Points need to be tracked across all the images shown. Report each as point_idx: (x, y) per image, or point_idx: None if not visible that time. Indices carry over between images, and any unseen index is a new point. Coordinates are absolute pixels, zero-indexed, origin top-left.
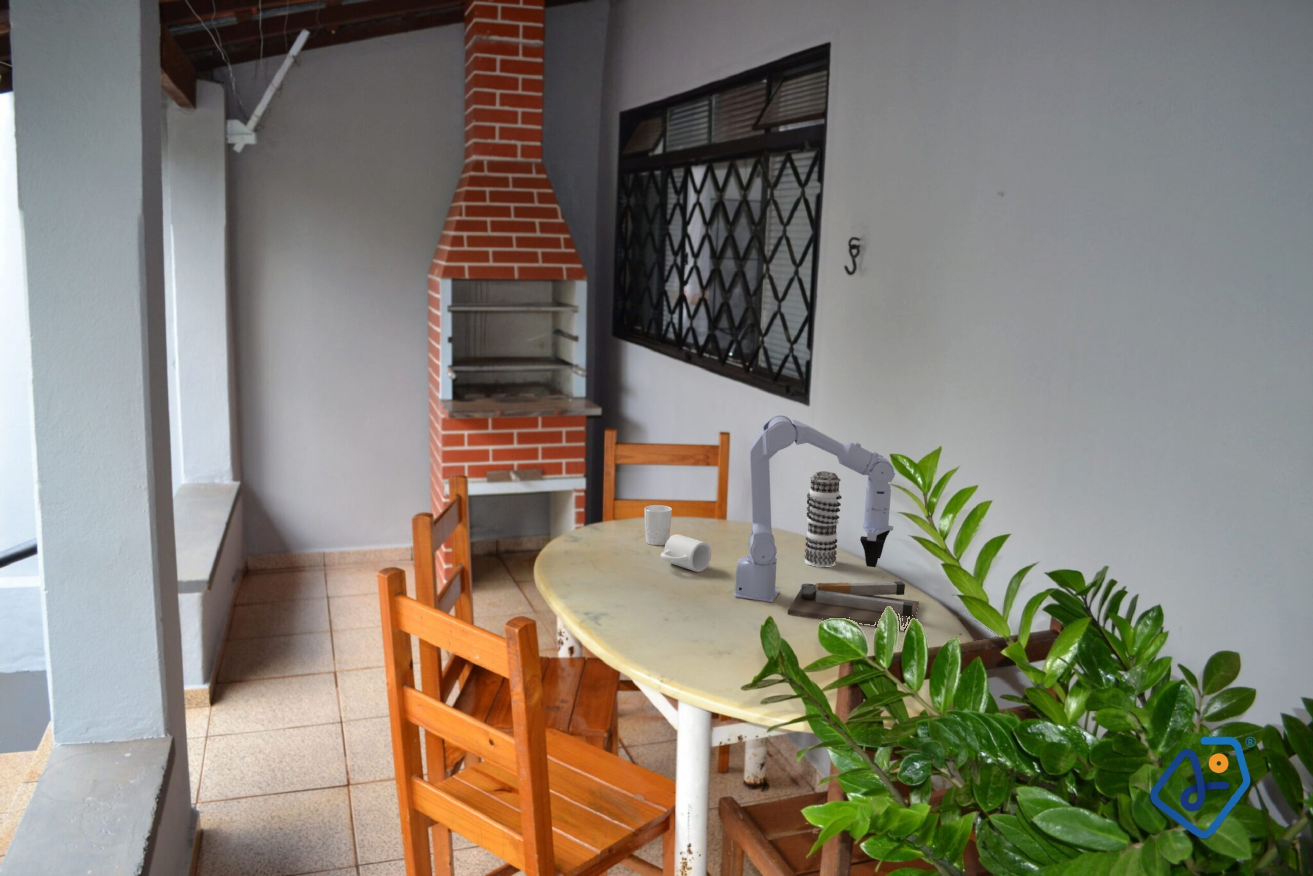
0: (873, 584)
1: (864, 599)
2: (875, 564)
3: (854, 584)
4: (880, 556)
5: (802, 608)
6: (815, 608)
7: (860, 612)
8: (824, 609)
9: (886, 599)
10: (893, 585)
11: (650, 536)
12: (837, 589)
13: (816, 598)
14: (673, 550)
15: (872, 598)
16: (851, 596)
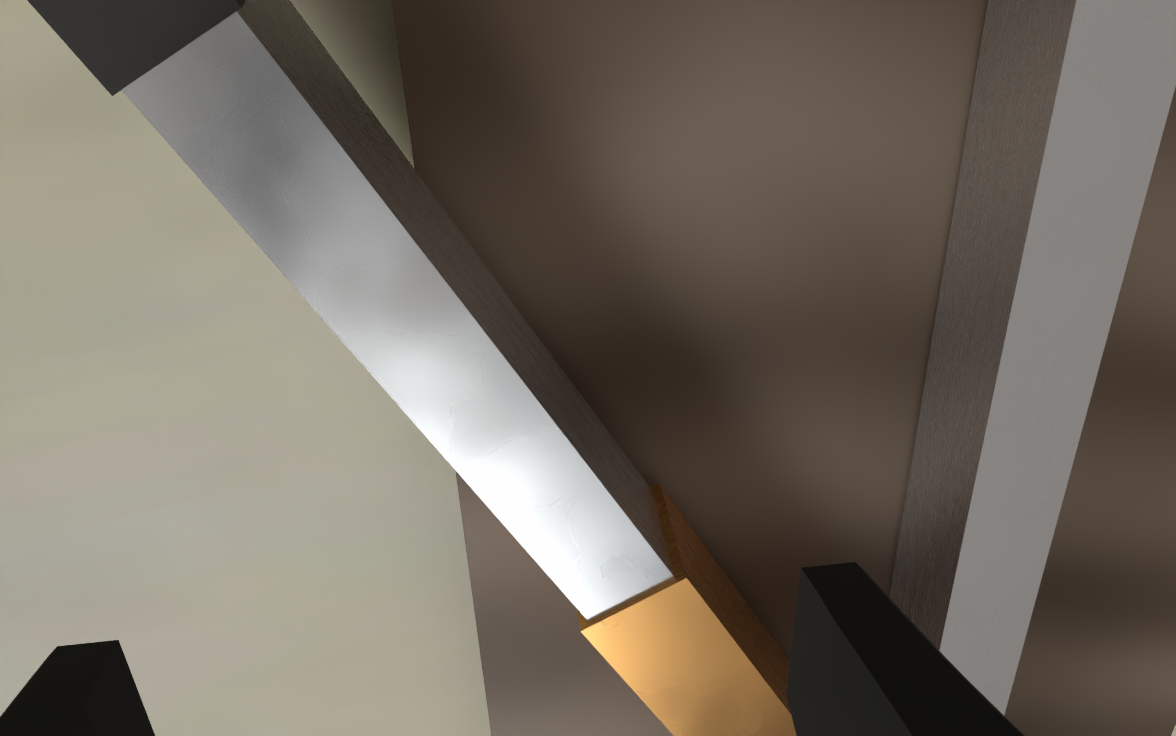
0: (467, 362)
1: (1110, 323)
2: (893, 613)
3: (597, 558)
4: (102, 672)
5: (1120, 702)
6: (1096, 631)
7: (1137, 266)
8: (1109, 570)
9: (518, 72)
10: (283, 67)
11: None
12: (751, 644)
13: None
14: None
15: (1062, 240)
16: (1044, 476)
